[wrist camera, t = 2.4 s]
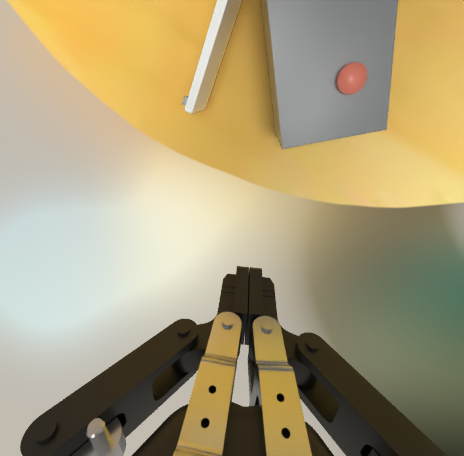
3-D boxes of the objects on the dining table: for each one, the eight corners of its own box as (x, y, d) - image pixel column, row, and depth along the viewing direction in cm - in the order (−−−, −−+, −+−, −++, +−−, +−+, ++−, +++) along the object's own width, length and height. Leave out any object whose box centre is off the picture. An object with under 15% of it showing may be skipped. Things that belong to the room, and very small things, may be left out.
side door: (243, -48, 25) (239, -103, 18) (257, -40, 25) (259, -91, 18) (195, 104, 32) (178, 107, 25) (206, 109, 32) (193, 114, 25)
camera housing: (251, -84, 24) (249, -182, 15) (360, -123, 22) (427, -257, 14) (275, 135, 33) (283, 150, 25) (353, 120, 32) (390, 130, 23)
